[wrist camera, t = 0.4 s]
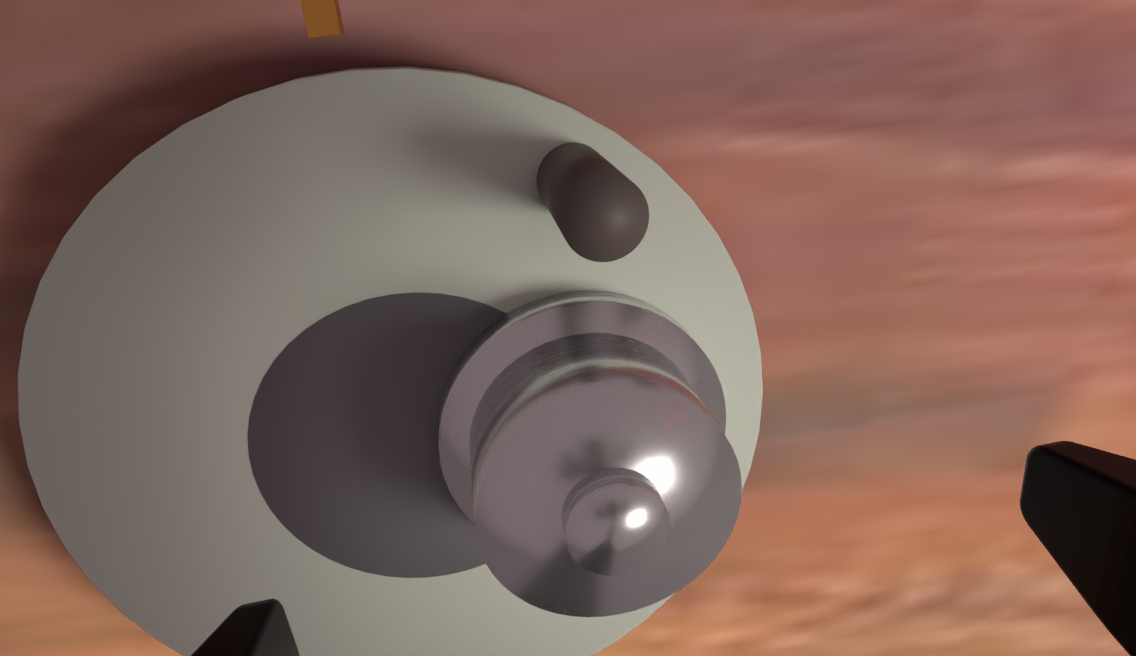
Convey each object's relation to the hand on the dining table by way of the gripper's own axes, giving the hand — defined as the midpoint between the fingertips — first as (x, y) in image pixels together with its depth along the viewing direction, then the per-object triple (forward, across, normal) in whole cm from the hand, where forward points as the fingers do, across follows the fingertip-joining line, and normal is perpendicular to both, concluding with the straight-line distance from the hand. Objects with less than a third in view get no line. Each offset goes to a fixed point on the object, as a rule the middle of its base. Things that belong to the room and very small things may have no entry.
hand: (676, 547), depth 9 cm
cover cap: (+12, 0, +5) cm, 13 cm away
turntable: (+14, +4, +5) cm, 15 cm away
